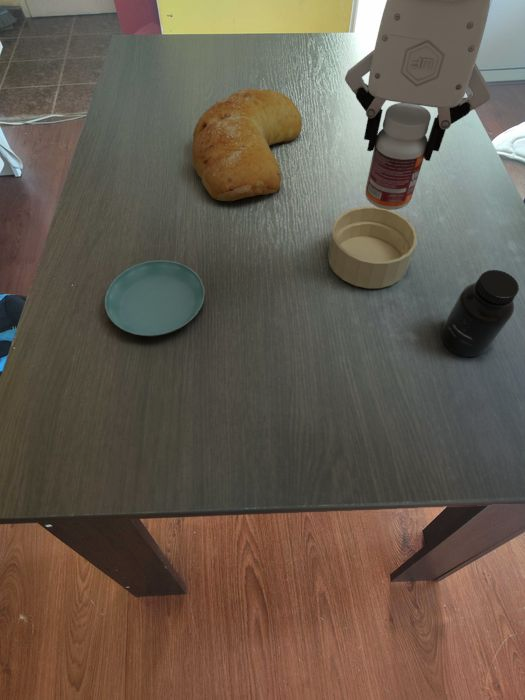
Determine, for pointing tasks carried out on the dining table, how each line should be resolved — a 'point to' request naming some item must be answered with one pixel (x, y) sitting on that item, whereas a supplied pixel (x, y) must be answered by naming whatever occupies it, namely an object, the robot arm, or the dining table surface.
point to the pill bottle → (398, 156)
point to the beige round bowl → (371, 246)
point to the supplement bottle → (480, 313)
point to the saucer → (154, 298)
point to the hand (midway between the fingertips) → (399, 148)
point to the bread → (243, 143)
